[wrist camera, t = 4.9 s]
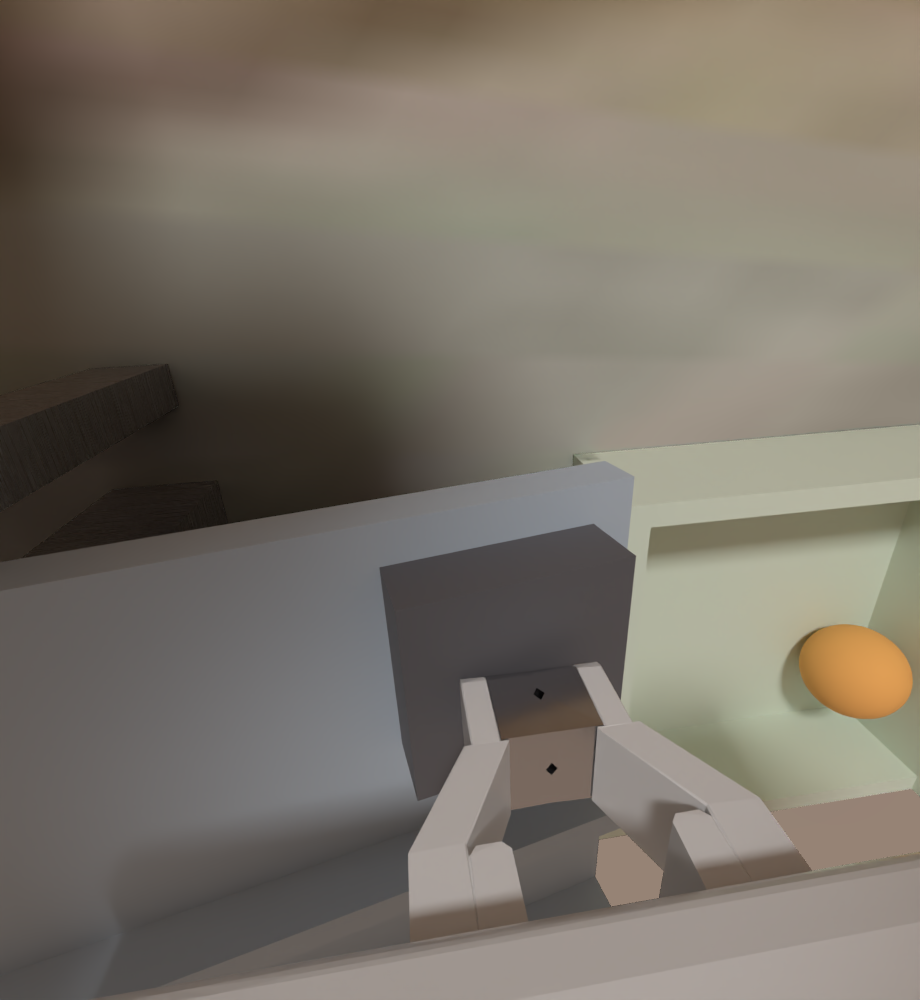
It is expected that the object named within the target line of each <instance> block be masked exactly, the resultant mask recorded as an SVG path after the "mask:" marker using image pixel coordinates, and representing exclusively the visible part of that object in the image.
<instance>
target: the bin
mask: <svg viewBox="0 0 920 1000" xmlns="http://www.w3.org/2000/svg"><path fill="white" fill-rule="evenodd" d="M601 461H606V462H608V463H610V464H612V465H614V466H616V467H617V468H619V469H621V470H623V471H625V472H627V473H629V474H631V475H632V476H634V487H633V497H632V507H631V518H630V528H629V538H628V548H627V549H628V550H629V551H630V552H632V553H633V554H634V555H636V562H635V571H634V581H633V590H632V599H631V609H630V618H629V627H628V637H627V646H626V655H625V665H624V674H623V683H622V693H621V702H622V704H623V706H624V707H625V709H626V711H627V713H628V715H629V716H630V718H631V720H632V722H637V721H640V722H642V723H644V724H645V725H647V726H648V727H650V728H651V729H653V730H655V731H656V732H658V733H659V734H661V735H662V736H664V737H666V738H667V739H669V740H670V741H672V742H673V743H675V744H676V745H678V746H680V747H681V748H683V749H684V750H686V751H687V752H689V753H691V754H692V755H694V756H695V757H697V758H698V759H700V760H702V761H703V762H705V763H706V764H708V765H709V766H711V767H712V768H714V769H716V770H717V771H719V772H720V773H722V774H723V775H725V776H727V777H728V778H730V779H731V780H733V781H734V782H736V783H738V784H739V785H741V786H742V787H744V788H745V789H747V790H748V791H750V792H752V793H753V794H755V795H756V796H758V797H759V798H760V799H761V800H762V801H763V803H764V804H765V805H766V807H767V808H768V810H769V811H770V812H771V811H778V810H784V809H790V808H796V807H803V806H809V805H815V804H821V803H827V802H833V801H839V800H845V799H852V798H858V797H864V796H870V795H876V794H882V793H888V792H894V791H900V790H906V789H913V790H914V791H915V792H916V793H917V794H918V795H919V796H920V424H919V425H908V426H896V427H885V428H873V429H862V430H850V431H839V432H827V433H816V434H805V435H793V436H782V437H770V438H759V439H747V440H736V441H724V442H713V443H701V444H690V445H678V446H667V447H656V448H644V449H633V450H621V451H610V452H598V453H587V454H575V455H573V466H577V465H583V464H589V463H595V462H601ZM839 624H850V625H857V626H862V627H866V628H869V629H871V630H874V631H876V632H878V633H880V634H882V635H883V636H885V637H886V638H888V639H889V640H891V641H892V642H893V643H894V644H895V645H896V646H897V647H898V648H899V649H900V650H901V651H902V653H903V654H904V655H905V657H906V659H907V661H908V663H909V665H910V667H911V671H912V677H913V687H912V690H911V694H910V696H909V698H908V700H907V701H906V703H905V704H904V705H903V706H902V707H901V708H900V709H898V710H897V711H896V712H894V713H892V714H890V715H888V716H885V717H881V718H876V719H857V718H852V717H848V716H845V715H842V714H839V713H837V712H835V711H833V710H831V709H829V708H828V707H826V706H825V705H823V704H822V703H821V702H820V701H818V700H817V699H816V698H815V697H814V696H813V695H812V694H811V692H810V691H809V690H808V688H807V687H806V685H805V683H804V681H803V679H802V677H801V673H800V669H799V656H800V652H801V649H802V647H803V645H804V643H805V642H806V640H807V639H808V638H809V637H810V636H811V635H812V634H814V633H815V632H817V631H818V630H820V629H823V628H825V627H829V626H832V625H839ZM625 835H627V834H626V833H625V832H624V831H623V830H622V829H621V828H619V829H617V830H614V831H612V832H609V833H607V834H604V835H602V836H599V840H600V839H606V838H612V837H618V836H625Z"/></svg>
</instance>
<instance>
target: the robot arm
mask: <svg viewBox="0 0 920 1000" xmlns="http://www.w3.org/2000/svg"><path fill="white" fill-rule="evenodd" d="M460 696H461V712H462V726H463V736H464V747H463V749H462V751H461V753H460V755H459V757H458V759H457V760H456V762H455V764H454V766H453V768H452V770H451V772H450V774H449V776H448V778H447V780H446V782H445V784H444V785H443V787H442V789H441V791H440V793H439V795H438V797H437V799H436V801H435V803H434V805H433V807H432V809H431V810H430V812H429V814H428V816H427V818H426V820H425V822H424V824H423V826H422V828H421V830H420V832H419V834H418V835H417V837H416V839H415V841H414V843H413V845H412V847H411V849H410V851H409V853H408V874H409V916H410V943H404V944H399V945H393V946H387V947H382V948H376V949H370V950H365V951H359V952H354V953H348V954H342V955H337V956H331V957H325V958H320V959H314V960H309V961H303V962H297V963H292V964H286V965H280V966H275V967H269V968H264V969H258V970H252V971H247V972H241V973H235V974H230V975H224V976H218V977H213V978H207V979H202V980H196V981H190V982H185V983H179V984H173V985H168V986H162V987H156V988H151V989H145V990H139V991H134V992H128V993H122V994H117V995H111V996H106V997H100V998H94V999H89V1000H920V852H915V853H910V854H904V855H899V856H893V857H887V858H881V859H876V860H870V861H864V862H859V863H853V864H847V865H842V866H837V867H831V868H825V869H819V870H814V871H812V870H811V868H810V867H809V865H808V864H807V863H806V861H805V860H804V859H803V857H802V856H801V854H800V853H799V851H798V850H797V849H796V847H795V846H794V845H793V843H792V842H791V840H790V839H789V838H788V836H787V835H786V833H785V832H784V831H783V829H782V828H781V826H780V825H779V824H778V822H777V821H776V819H775V818H774V817H773V816H772V814H771V812H770V811H769V810H768V808H767V807H766V805H765V804H764V803H763V801H762V800H761V799H760V798H759V797H758V796H756V795H755V794H753V793H752V792H750V791H748V790H747V789H745V788H744V787H742V786H741V785H739V784H738V783H736V782H734V781H733V780H731V779H730V778H728V777H727V776H725V775H723V774H722V773H720V772H719V771H717V770H716V769H714V768H712V767H711V766H709V765H708V764H706V763H705V762H703V761H702V760H700V759H698V758H697V757H695V756H694V755H692V754H691V753H689V752H687V751H686V750H684V749H683V748H681V747H680V746H678V745H676V744H675V743H673V742H672V741H670V740H669V739H667V738H666V737H664V736H662V735H661V734H659V733H658V732H656V731H655V730H653V729H651V728H650V727H648V726H647V725H645V724H644V723H642V722H640V721H637V722H632V720H631V718H630V716H629V715H628V713H627V711H626V709H625V707H624V706H623V704H622V702H621V700H620V699H619V697H618V695H617V693H616V691H615V690H614V688H613V686H612V684H611V682H610V681H609V679H608V677H607V675H606V674H605V672H604V670H603V668H602V666H601V665H600V664H599V663H598V662H590V663H583V664H576V665H573V666H564V667H557V668H550V669H543V670H535V671H528V672H520V673H511V674H501V675H492V676H485V678H484V677H478V678H468V679H460ZM585 798H592V801H593V802H594V803H595V804H596V805H597V806H598V807H599V808H600V809H601V810H602V811H603V812H604V813H605V814H606V815H607V816H608V817H609V818H610V819H611V820H613V821H614V822H615V823H616V824H617V825H618V826H619V827H620V828H621V829H622V830H623V831H624V832H625V833H626V834H627V835H628V836H629V837H630V838H631V839H632V840H633V841H634V842H635V843H636V844H637V845H638V846H639V847H640V848H641V849H642V850H643V851H644V852H645V853H646V854H647V855H648V856H649V857H650V858H651V859H652V860H653V861H654V862H655V863H656V864H657V865H658V866H659V867H660V868H661V869H662V870H663V871H664V873H663V878H662V884H661V889H660V895H659V898H657V899H652V900H646V901H641V902H635V903H629V904H624V905H618V906H612V907H607V908H601V909H595V910H590V911H584V912H579V913H573V914H567V915H562V916H556V917H550V918H545V919H539V920H534V921H528V917H527V913H526V908H525V904H524V899H523V895H522V891H521V886H520V882H519V877H518V873H517V868H516V864H515V859H514V855H513V851H512V848H511V847H510V846H508V845H506V844H505V843H503V842H502V840H503V837H504V834H505V830H506V827H507V824H508V821H509V818H510V815H511V810H515V809H520V808H525V807H531V806H536V805H541V804H547V803H553V802H561V801H569V800H577V799H585Z"/></svg>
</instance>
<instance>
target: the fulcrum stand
mask: <svg viewBox="0 0 920 1000" xmlns="http://www.w3.org/2000/svg"><path fill="white" fill-rule="evenodd" d="M178 406H179V404H178V401H177V397H176V393H175V390H174V386H173V382H172V379H171V375H170V371H169V368H168V364H156V365H140V366H125V367H109V368H94V369H88V370H84V371H81V372H77V373H74V374H71V375H67V376H64V377H60V378H57V379H54V380H50V381H47V382H43V383H40V384H37V385H33V386H30V387H26V388H23V389H20V390H16V391H13V392H10V393H6V394H3V395H0V512H1V511H2V510H4V509H6V508H7V507H9V506H11V505H13V504H14V503H16V502H18V501H19V500H21V499H23V498H24V497H26V496H28V495H29V494H31V493H33V492H34V491H36V490H38V489H39V488H41V487H43V486H45V485H46V484H48V483H50V482H51V481H53V480H55V479H56V478H58V477H60V476H61V475H63V474H65V473H66V472H68V471H70V470H72V469H73V468H75V467H77V466H78V465H80V464H82V463H83V462H85V461H87V460H88V459H90V458H92V457H93V456H95V455H97V454H98V453H100V452H102V451H104V450H105V449H107V448H109V447H110V446H112V445H114V444H115V443H117V442H119V441H120V440H122V439H124V438H125V437H127V436H129V435H130V434H132V433H134V432H136V431H137V430H139V429H141V428H142V427H144V426H146V425H147V424H149V423H151V422H152V421H154V420H156V419H157V418H159V417H161V416H162V415H164V414H166V413H168V412H169V411H171V410H173V409H174V408H176V407H178ZM225 524H228V522H227V518H226V514H225V510H224V506H223V502H222V498H221V494H220V491H219V487H218V483H217V481H206V482H195V483H183V484H171V485H160V486H148V487H137V488H125V489H114V490H111V491H110V492H109V493H107V494H106V495H105V496H103V497H102V498H101V499H99V500H98V501H97V502H95V503H94V504H93V505H91V506H90V507H89V508H87V509H86V510H85V511H83V512H82V513H81V514H79V515H78V516H77V517H75V518H74V519H73V520H71V521H70V522H69V523H67V524H66V525H65V526H63V527H62V528H61V529H59V530H58V531H57V532H55V533H54V534H53V535H51V536H50V537H49V538H47V539H46V540H45V541H44V542H42V543H41V544H40V545H38V546H37V547H36V548H34V549H33V550H32V551H30V552H29V553H28V554H26V555H25V556H24V557H22V558H28V557H34V556H40V555H46V554H52V553H58V552H64V551H70V550H76V549H82V548H88V547H94V546H100V545H106V544H112V543H118V542H124V541H129V540H135V539H141V538H147V537H153V536H159V535H165V534H171V533H177V532H183V531H189V530H195V529H201V528H207V527H213V526H219V525H225ZM22 558H21V559H22Z"/></svg>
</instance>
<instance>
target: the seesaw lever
mask: <svg viewBox="0 0 920 1000" xmlns="http://www.w3.org/2000/svg"><path fill="white" fill-rule="evenodd" d="M633 487H634V476H632V475H631V474H629V473H627V472H625V471H623V470H621V469H619V468H617V467H616V466H614V465H612V464H610V463H608V462H606V461H601V462H595V463H589V464H583V465H577V466H571V467H565V468H559V469H553V470H547V471H541V472H535V473H529V474H523V475H517V476H511V477H505V478H499V479H493V480H488V481H482V482H476V483H470V484H464V485H458V486H452V487H446V488H440V489H434V490H428V491H422V492H416V493H410V494H404V495H398V496H392V497H386V498H380V499H374V500H368V501H362V502H356V503H350V504H344V505H338V506H332V507H326V508H320V509H314V510H309V511H303V512H297V513H291V514H285V515H279V516H273V517H267V518H261V519H255V520H249V521H243V522H237V523H231V524H225V525H219V526H213V527H207V528H201V529H195V530H189V531H183V532H177V533H171V534H165V535H159V536H153V537H147V538H141V539H135V540H129V541H124V542H118V543H112V544H106V545H100V546H94V547H88V548H82V549H76V550H70V551H64V552H58V553H52V554H46V555H40V556H34V557H28V558H22V559H16V560H10V561H4V562H0V1000H89V999H94V998H100V997H106V996H111V995H117V994H122V993H128V992H134V991H139V990H145V989H151V988H156V987H162V986H168V985H173V984H179V983H185V982H190V981H196V980H202V979H207V978H213V977H218V976H224V975H230V974H235V973H241V972H247V971H252V970H258V969H264V968H269V967H275V966H280V965H286V964H292V963H297V962H303V961H309V960H314V959H320V958H325V957H331V956H337V955H342V954H348V953H354V952H359V951H365V950H370V949H376V948H382V947H387V946H393V945H399V944H404V943H410V916H409V874H408V853H409V851H410V849H411V847H412V845H413V843H414V841H415V839H416V837H417V835H418V834H419V832H420V830H421V828H422V826H423V824H424V822H425V820H426V818H427V816H428V814H429V812H430V810H431V809H432V807H433V805H434V803H435V801H436V799H437V797H438V795H439V793H440V791H441V789H442V787H443V785H444V784H445V782H446V780H447V778H448V776H449V774H450V772H451V770H452V768H453V766H454V764H455V762H456V760H457V759H458V757H459V755H460V753H461V751H462V749H463V747H464V736H463V726H462V712H461V696H460V679H468V678H478V677H484V678H485V676H492V675H501V674H511V673H520V672H528V671H535V670H543V669H550V668H557V667H564V666H573V665H576V664H583V663H590V662H598V663H599V664H600V665H601V666H602V668H603V670H604V672H605V674H606V675H607V677H608V679H609V681H610V682H611V684H612V686H613V688H614V690H615V691H616V693H617V695H618V697H619V699H620V700H621V693H622V683H623V674H624V665H625V655H626V646H627V637H628V627H629V618H630V609H631V599H632V590H633V581H634V571H635V562H636V555H634V554H633V553H632V552H630V551H629V550H628V549H627V548H628V538H629V528H630V518H631V507H632V497H633ZM619 828H620V827H619V826H618V825H617V824H616V823H615V822H614V821H613V820H611V819H610V818H609V817H608V816H607V815H606V814H605V813H604V812H603V811H602V810H601V809H600V808H599V807H598V806H597V805H596V804H595V803H594V802H593V801H592V798H585V799H577V800H569V801H561V802H553V803H547V804H541V805H536V806H531V807H525V808H520V809H515V810H511V815H510V818H509V821H508V824H507V827H506V830H505V834H504V837H503V840H502V842H503V843H505V844H506V845H508V846H510V847H511V848H512V851H513V855H514V859H515V864H516V868H517V873H518V877H519V882H520V886H521V891H522V895H523V899H524V904H525V908H526V913H527V917H528V921H534V920H539V919H545V918H550V917H556V916H562V915H567V914H573V913H579V912H584V911H590V910H595V909H601V908H607V907H611V905H610V904H609V902H608V900H607V898H606V896H605V894H604V893H603V891H602V889H601V887H600V885H599V883H598V881H597V880H596V878H595V874H596V863H597V853H598V843H599V836H602V835H604V834H607V833H609V832H612V831H614V830H617V829H619Z"/></svg>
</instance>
